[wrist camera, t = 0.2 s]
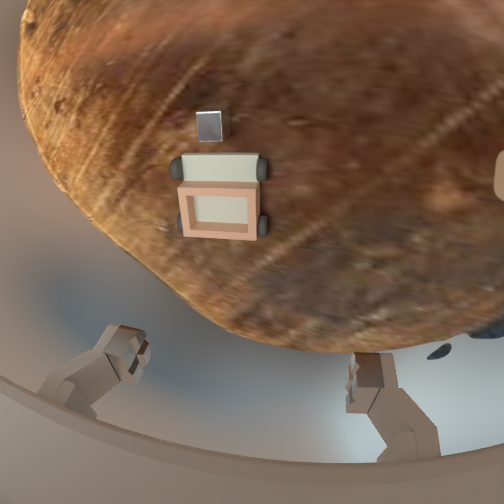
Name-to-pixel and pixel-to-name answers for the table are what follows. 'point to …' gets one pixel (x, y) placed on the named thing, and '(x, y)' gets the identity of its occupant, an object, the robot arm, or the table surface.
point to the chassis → (220, 195)
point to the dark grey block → (213, 124)
